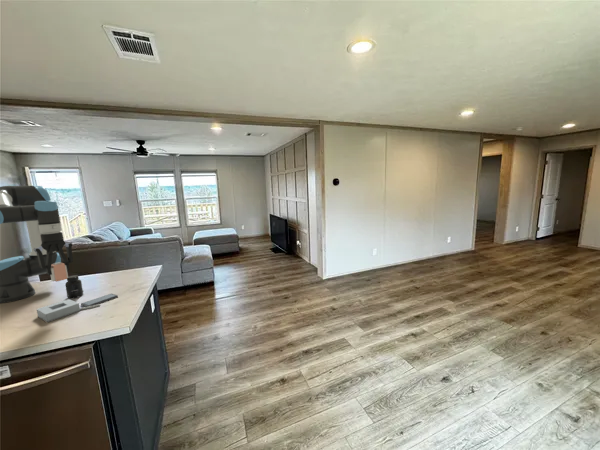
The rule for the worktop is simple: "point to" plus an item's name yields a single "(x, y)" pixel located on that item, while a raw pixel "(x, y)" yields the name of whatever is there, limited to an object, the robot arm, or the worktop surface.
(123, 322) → the worktop surface
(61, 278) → the block
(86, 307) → the cable
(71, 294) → the supplement bottle
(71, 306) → the outlet plate
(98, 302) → the phone
